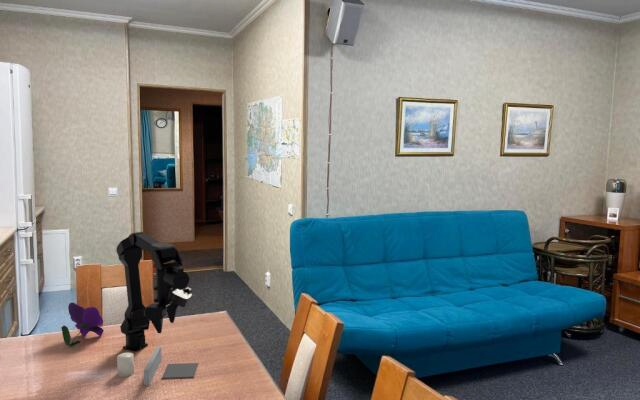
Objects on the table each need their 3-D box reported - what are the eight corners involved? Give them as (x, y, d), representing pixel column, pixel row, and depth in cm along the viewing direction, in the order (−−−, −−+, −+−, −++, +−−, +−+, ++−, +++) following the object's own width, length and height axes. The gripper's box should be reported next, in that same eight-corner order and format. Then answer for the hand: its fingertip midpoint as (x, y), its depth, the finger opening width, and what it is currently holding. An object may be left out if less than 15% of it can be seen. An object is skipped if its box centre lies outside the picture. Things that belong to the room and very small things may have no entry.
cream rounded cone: (114, 374, 161) (113, 357, 161) (126, 368, 166) (125, 351, 165) (125, 378, 159) (124, 360, 158) (137, 371, 164) (136, 354, 163)
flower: (92, 360, 183) (112, 332, 194) (77, 333, 175) (99, 305, 186) (59, 356, 187) (80, 328, 197) (42, 329, 178) (66, 301, 189)
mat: (161, 378, 159) (161, 377, 159) (168, 365, 169) (168, 363, 169) (193, 377, 160) (193, 376, 160) (197, 364, 170) (197, 362, 170)
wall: (149, 385, 155) (148, 370, 154) (144, 385, 154) (143, 370, 154) (161, 360, 172) (161, 346, 172) (157, 360, 172) (156, 346, 172)
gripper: (176, 292, 154) (176, 340, 156) (199, 276, 172) (199, 319, 174) (142, 290, 155) (143, 338, 157) (169, 274, 174) (169, 317, 176)
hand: (166, 327), depth 166 cm, fingers open, 9 cm apart
